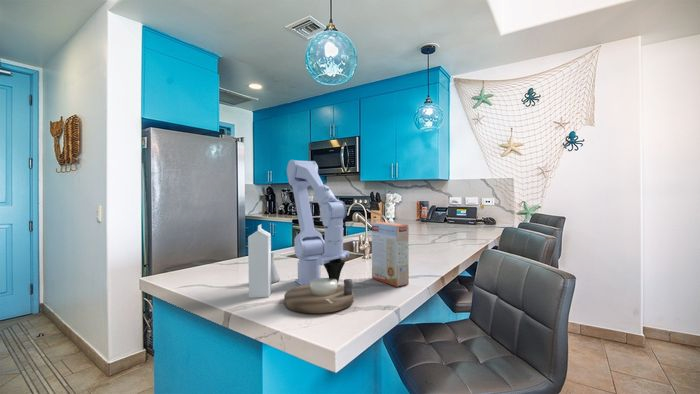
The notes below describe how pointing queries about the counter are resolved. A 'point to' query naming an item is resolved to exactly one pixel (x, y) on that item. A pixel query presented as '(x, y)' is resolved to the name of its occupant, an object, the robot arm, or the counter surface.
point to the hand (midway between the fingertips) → (334, 283)
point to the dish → (323, 286)
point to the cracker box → (390, 253)
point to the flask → (274, 271)
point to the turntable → (319, 299)
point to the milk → (259, 263)
